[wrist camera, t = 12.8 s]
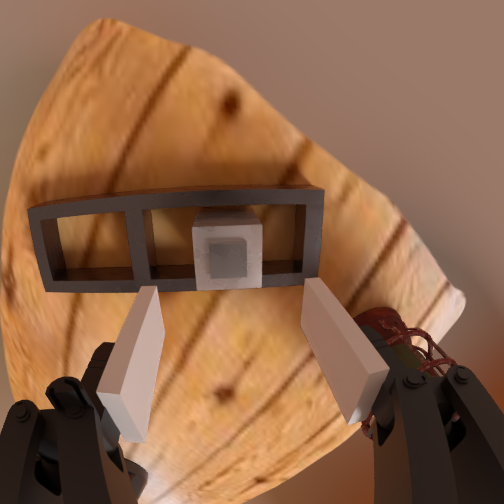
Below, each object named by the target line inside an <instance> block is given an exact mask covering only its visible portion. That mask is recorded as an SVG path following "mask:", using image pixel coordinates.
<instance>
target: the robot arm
mask: <svg viewBox="0 0 504 504" xmlns="http://www.w3.org/2000/svg"><path fill="white" fill-rule="evenodd" d="M300 326H301V328H302V330H303V332H304V334H305V336H306V338H307V340H308V343H309V345H310V347H311V349H312V351H313V353H314V355H315V357H316V359H317V361H318V363H319V365H320V368H321V370H322V372H323V374H324V376H325V378H326V380H327V382H328V384H329V386H330V389H331V391H332V393H333V395H334V397H335V399H336V401H337V403H338V405H339V408H340V410H341V412H342V414H343V416H344V418H345V420H346V422H347V425H350V424H354V423H357V422H361V421H364V420H366V419H367V417H368V415H369V413H370V411H372V413H373V415H374V417H375V419H374V421H373V423H372V425H371V426H370V428H369V430H368V432H367V435H366V437H369V436H370V434H371V433H372V431H373V446H374V472H375V473H374V475H375V477H374V480H375V491H374V492H375V493H374V504H504V414H503V413H502V411H501V410H500V409H499V407H498V406H497V404H496V403H495V402H494V400H493V399H492V397H491V396H490V394H489V393H488V392H487V391H486V389H485V388H484V386H483V385H482V384H481V382H480V381H479V380H478V379H477V377H476V376H475V375H474V373H473V372H472V371H471V370H470V369H468V368H466V367H464V366H461V365H455V366H452V367H450V368H449V369H448V371H447V373H446V375H445V376H443V377H430V378H428V377H427V375H425V374H424V373H423V372H422V371H419V370H417V369H412V368H407V367H406V366H405V365H404V364H403V362H402V361H401V360H400V359H399V357H398V356H397V355H396V354H395V352H394V351H393V350H392V349H391V347H390V346H388V344H387V343H386V341H385V340H383V338H382V336H381V335H380V334H379V333H378V332H377V331H376V330H375V329H373V328H371V327H370V326H368V325H363V326H358V325H357V324H356V323H355V321H354V320H353V319H352V318H351V316H350V315H349V314H348V312H347V311H346V310H345V309H344V307H343V306H342V305H341V304H340V302H339V301H338V300H337V298H336V297H335V296H334V295H333V293H332V292H331V291H330V290H329V288H328V287H327V286H326V285H325V283H324V282H323V281H322V280H321V278H320V277H319V278H305V284H304V294H303V304H302V314H301V323H300ZM164 337H165V329H164V324H163V319H162V314H161V308H160V303H159V297H158V291H157V286H141V288H140V290H139V292H138V294H137V296H136V298H135V301H134V303H133V305H132V307H131V309H130V311H129V313H128V316H127V318H126V320H125V322H124V324H123V327H122V329H121V331H120V333H119V336H118V338H117V340H116V343H110V342H103V343H102V344H101V345H100V346H99V347H98V348H97V349H96V350H95V351H94V354H93V356H92V358H91V361H90V362H89V364H88V366H87V367H88V368H86V371H85V373H84V375H83V377H82V380H81V382H80V381H79V380H78V379H76V378H74V377H61V378H58V379H56V380H54V381H53V382H51V384H50V385H49V386H48V387H47V390H46V393H45V394H46V396H47V397H48V399H49V401H50V402H51V404H52V405H53V407H54V408H55V409H44V410H39V409H38V408H37V406H36V405H35V404H34V403H33V402H32V401H29V400H21V401H18V402H16V403H15V404H14V405H12V407H11V408H10V410H9V412H8V415H7V417H6V420H5V423H4V425H3V428H2V431H1V434H0V504H138V499H139V497H140V495H141V493H142V492H143V490H144V488H145V486H146V484H147V479H148V473H147V472H146V471H145V470H144V469H143V468H142V467H140V466H139V465H137V464H135V463H133V462H131V461H129V460H126V459H124V456H123V451H122V449H121V446H120V445H119V443H118V441H119V436H120V434H121V435H122V437H123V438H124V440H125V441H128V442H137V443H146V438H147V431H148V424H149V418H150V411H151V405H152V399H153V393H154V388H155V382H156V377H157V372H158V366H159V361H160V356H161V352H162V347H163V342H164ZM456 412H457V413H458V415H459V417H460V418H459V419H458V420H455V419H454V417H453V416H454V415H455V413H456ZM37 454H38V455H37Z"/></svg>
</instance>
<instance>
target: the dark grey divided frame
mask: <svg viewBox="0 0 504 504" xmlns="http://www.w3.org/2000/svg"><path fill="white" fill-rule="evenodd" d="M259 204H296V215H295V236H294V254H293V260H282V261H262V287H261V288H265V287H281V286H295V285H304V284H305V278H318V268H319V258H320V248H321V236H322V223H323V208H324V190H323V189H321V188H318V187H315V186H313V185H223V186H197V187H179V188H164V189H150V190H138V191H128V192H118V193H108V194H100V195H91V196H84V197H76V198H69V199H62V200H56V201H49V202H43V203H41V204H38V205H36V206H33V207H31V208H28V209H27V211H28V218H29V224H30V230H31V235H32V240H33V245H34V250H35V254H36V258H37V263H38V267H39V270H40V274H41V278H42V281H43V285H44V288H45V291H46V292H71V293H134V292H139V290H140V288H141V286H157V291H158V292H179V291H197V286H196V275H195V264H193V265H167V266H157V260H156V252H155V243H154V234H153V224H152V213H151V209H160V208H177V207H196V206H221V205H259ZM120 211H125V218H126V227H127V235H128V243H129V250H130V256H131V262H132V267H109V268H75V269H66V266H65V261H64V257H63V252H62V247H61V242H60V237H59V231H58V225H57V219H56V218H61V217H69V216H78V215H88V214H98V213H109V212H120ZM245 289H248V288H245ZM226 290H229V289H226ZM205 291H207V290H205Z"/></svg>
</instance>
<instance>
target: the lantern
mask: <svg viewBox="0 0 504 504" xmlns="http://www.w3.org/2000/svg"><path fill="white" fill-rule="evenodd" d="M353 320H354V321H355V323H356V324H357V325H358V326H363V325H368V326H370V327H371V328H373V329H375V330H376V331H377V332H378V333H379V334H380V335H381V336H382V338H383V340H385V341H386V343H387V344H388V346H390V347H391V349H392V350H393V351H394V352H395V354H396V355H397V356H398V357H399V359H400V360H401V361H402V362H403V364H404V365H405V366H406V367H407V368H412V369H417V370H419V371H422V372H423V373H424V374H425V375H427V377H428V378H430V377H440V376H439V375H438V374H437V372H436V371H435V370H434V369H433V367H436V368H437V369H438V370H439V372H440V373H441V374H442V375H443V376H445V375H446V374H445V373H444V371H443V370H442V369H441V368H440V367H439V365H441V364H448V365H450V366H451V367H452V366H455V365H457V364H456V362H455V361H454V360H453V359H451V358H449V357H448V356H447V354H445V352H444V351H443V350H442V349H441V348H440V347H439V346H438V345H437V344H436V343H435V342H434V341H433V340H432V338H431V336H430V335H429V334H428V333H426V332H425V331H423V330H422V329H420V328H407V326H406V325H405V323H404V322H403V321H402V320H401V317H400V315H399V314H398V313H397V312H396V311H395V310H393V309H390V308H386V307H384V308H374V309H372V310H369V311H367V312H365V313H363V314H360V315H358V316H357V317H356V318H354V319H353ZM408 330H413V331H408ZM410 336H421V337H423V338H424V339H426V340H427V342H428V353H427V352H426V351H425V350H423V349H422V348H420V347H417V346H414V345H412V342H411V338H410ZM433 346H434V348H435V349H436V350H437V351H438V352H439V353H440V354H441V355H442V356H443V357H444V358H442V359H437V360H434V359H433V358H432V355H433V354H432V351H433ZM416 349H417V350H419V351H421V352H422V353H423V354H424V356H425V357H426V359H425V357H424V356H423V355H422V354H421V353H420V352H419V351H417V350H416ZM429 361H430V362H429ZM372 416H373V413H372V411H370V413H369V415H368V417H367V419H366V420H364V421H361V422H362V425H361V427H362V432H363V434H364V435H365V436H366V435H367V432H368V430H369V428H370V425H369V422H370V420H371V418H372ZM453 417H454V419H455V420H458V419H459V418H460V417H459V415H458V413H457V412H456V413H455V415H454V416H453ZM369 438H370V439H372V440H373V431H372V433H371V434H370V436H369Z"/></svg>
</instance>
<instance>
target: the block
mask: <svg viewBox="0 0 504 504" xmlns="http://www.w3.org/2000/svg"><path fill="white" fill-rule="evenodd" d="M192 238H193V252H194V264H195V275H196V286H197V291H205V290H226V289H245V288H261V287H262V223H261V222H260V220H259V218H258V217H257V215H256V214H255V212H254V211H253V209H252V208H251V206H250V205H228V206H203V207H198V210H197V213H196V216H195V219H194V222H193V225H192Z"/></svg>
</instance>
